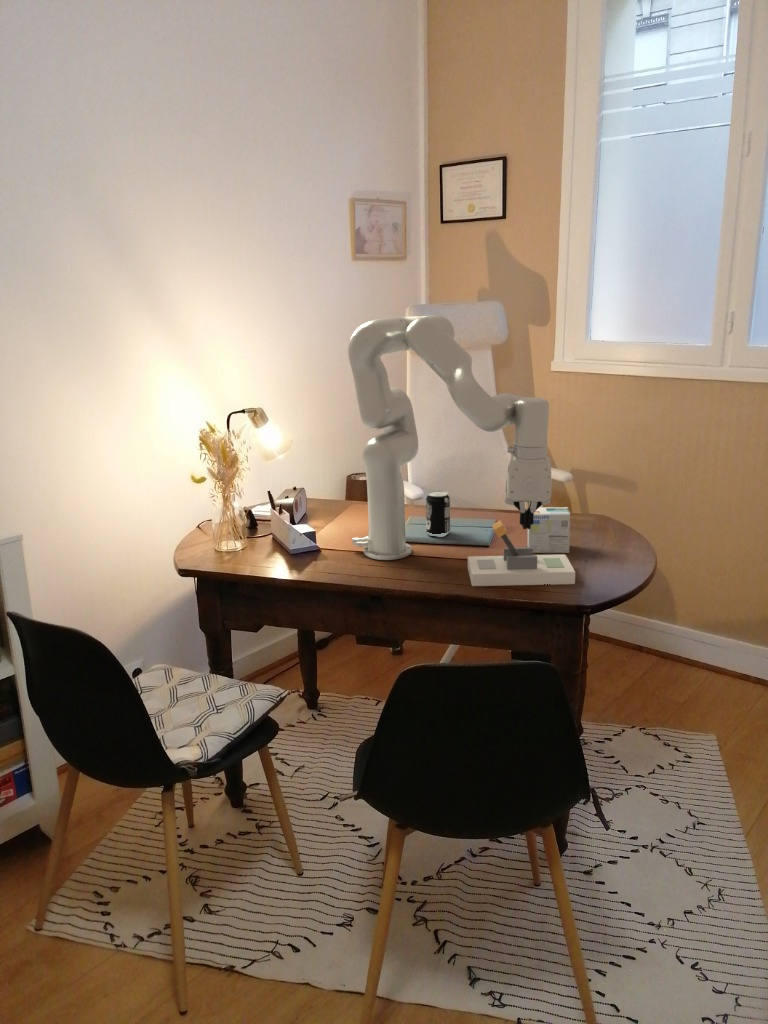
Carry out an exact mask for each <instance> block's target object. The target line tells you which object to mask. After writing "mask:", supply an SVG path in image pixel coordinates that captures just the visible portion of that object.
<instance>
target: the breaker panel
mask: <svg viewBox="0 0 768 1024" xmlns="http://www.w3.org/2000/svg"><path fill="white" fill-rule="evenodd" d="M514 547H515V546H514ZM515 549H516V550H517V552H518V553H519V555H520V556H513V555H512V553H511V551H510V550H509V548H508V547H507V546H506V547H503V551H502V553H503V555H482V556H481V555H474V556H469V555H468V556H467V571H468V576H469V579H470V583H471V586H472V587H489V586H490V587H491V586H492V587H493V586H495V587H496V586H497V587H498V586H538V585H539V586H540V585H541V586H542V585H543V586H544V584H545V585H546V586H547V584H548V585H549V584H550V585H575V583H576V571H575V569H574V567H573V566H572V563H571V562H570V560H569V558H568V556H567V555H566V553H558V554H534V553H533V547H528V546H517V547H515Z"/></svg>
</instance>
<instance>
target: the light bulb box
mask: <svg viewBox="0 0 768 1024" xmlns="http://www.w3.org/2000/svg"><path fill="white" fill-rule="evenodd" d="M570 533H571V512H570V510H569V507H568V506H565V507H563V506H562V507H560V506H559V507H557V506H554V507H553V506H551V507H549V506H548V507H543V506H540V507H539V508H538V509H537V510H536V511H535V513H534V518H533V525H531V528H530V529H527V546H526V547H533V554H535V553H536V554H537V553H538V554H539V553H540V554H569V553H570V540H571V539H570V538H571V537H570Z"/></svg>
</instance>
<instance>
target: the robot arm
mask: <svg viewBox="0 0 768 1024" xmlns="http://www.w3.org/2000/svg"><path fill="white" fill-rule="evenodd" d="M347 348H348V349H347V355H348V361H349V364H350V369H351V372H352V376H353V381H354V389H355V394H356V399H357V403H358V411H359V415H360V418H361V421H362V424H363V425H364V426H365V427H366V428H368V429H369V430H375V431H376V430H382V429H383V433H380V434H378V435H376V436H373V437H372V438H371V439H369V440H368V441H367V442H366V443H365V445H364V447H363V450H362V463H363V466H364V471H365V478H366V487H367V488H366V489H367V490H366V491H367V512H368V513H367V515H368V534H367V536H364V537H352V541H351V542H352V546H356V548H363V554H364V556H366V557H367V558H369V559H373V560H379V561H391V560H392V561H394V560H400V559H403V558H406V557H408V556H410V555H411V553H413V552H412V550H413V549H412V546H411V545H410V544H409V543H406V541H407V540H406V506H405V505H406V503H405V502H406V501H405V497H406V496H405V485H404V484H405V482H404V479H403V476H402V473H401V468H400V467H402V466H404V465H406V464H408V463H410V462H412V461H413V460H414V459H415V458H416V456H417V454H418V452H419V437H418V431H417V427H416V426H417V425H416V420H415V415H414V414H415V413H414V410H413V404H412V402H411V399H410V397H409V396H408V394H407V393H406V392H405V391H404V390H402V389H401V388H399V387H396V386H395V387H394V386H391V385H390V382H389V375H388V372H387V368H386V366H385V364H384V362H383V361H382V359H381V357H382V356H383V355H386V354H393V353H395V352H396V353H397V352H403V351H413V352H414V354H416V355H417V356H418V357H419V358H420V359H421V360H422V361H423V362H424V363H425V364H426V365H427V366H428V367H429V368H430V369H431V370H432V371H433V372H434V374H435V373H436V375H437V376H438V377H439V378H440V379H441V380H442V381H443V382H444V383H445V385H446V387H447V390H448V392H449V395H450V396H451V398H452V400H453V402H454V404H455V405H456V407H457V408H458V409H459V410H460V412H461V413H463V414H464V416H465V417H467V419H469V420H470V421H471V423H472V424H474V425H475V426H476V427H478V428H480V429H481V430H482V431H484V432H485V431H486V432H489V433H494V432H496V431H499V430H502V429H504V428H506V427H509V426H513V425H514V436H513V439H514V440H513V444H512V446H507V451H506V453H509V454H512V455H511V456H510V459H509V461H508V462H509V463H508V467H507V473H506V481H505V483H506V484H505V498H504V503H505V504H506V505H511V506H514V507H515V508H516V509H517V510H518V511H519V526H520V525H521V526H522V529H523V530H526V529H527V530H528V529H530V528H531V525H533V518H534V513H535V511H536V510H537V509H538V508H541V507H542V506H546V505H550V504H551V502H552V501H551V497H552V466H551V459H550V457H548V456H547V453H548V435H549V419H550V404H549V402H548V400H547V399H545V398H542V397H533V396H531V397H528V396H527V397H524V396H520V395H516V394H512V393H506V392H505V393H503V392H502V393H500V394H496V395H494V396H491V395H490V394H489V393H488V392H487V391H486V390H485V389H484V388H483V387H482V386H481V385H480V384H479V382H478V381H477V380H476V378H475V376H474V374H473V370H472V366H473V357H472V356H471V355H470V353H468V352H467V351H466V349H465V348H463V347H462V346H461V345H460V344H459V343H458V342H457V341H456V339H455V327H454V325H453V323H452V322H451V321H450V320H449V319H448V318H447V317H445V316H443V315H438V314H433V315H431V314H430V315H419V316H418V315H411V316H410V315H409V316H408V315H407V316H393V317H392V316H391V317H386V318H385V317H384V318H377V319H373V320H369V321H367V322H365V323H363V324H361V325H360V326H359V327H357V328H356V329H355V331H353V333H352V335H351V336H350V339H349V341H348V346H347ZM526 503H529V505H528V507H527V508H526Z"/></svg>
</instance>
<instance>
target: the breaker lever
mask: <svg viewBox="0 0 768 1024" xmlns="http://www.w3.org/2000/svg"><path fill="white" fill-rule="evenodd" d="M491 526H492V530H493V532H494V533H495V535H496V536H497V538H500V537H501V539H502V541H503V542H504V543H505V545H506V547H508V548H509V550H510V551H511V553H512V555H513V556H520V555H519V553H518V552H517V550H516V549H515V546H514V544H513V543H512V541H511V540H510V538H509V536H508V535H507V533H508V531H507V528H506V526H505V525H504V523H503V522H502V520H501V519H500V520H498V521H496V522H495V523H493V524H492V525H491Z"/></svg>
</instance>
